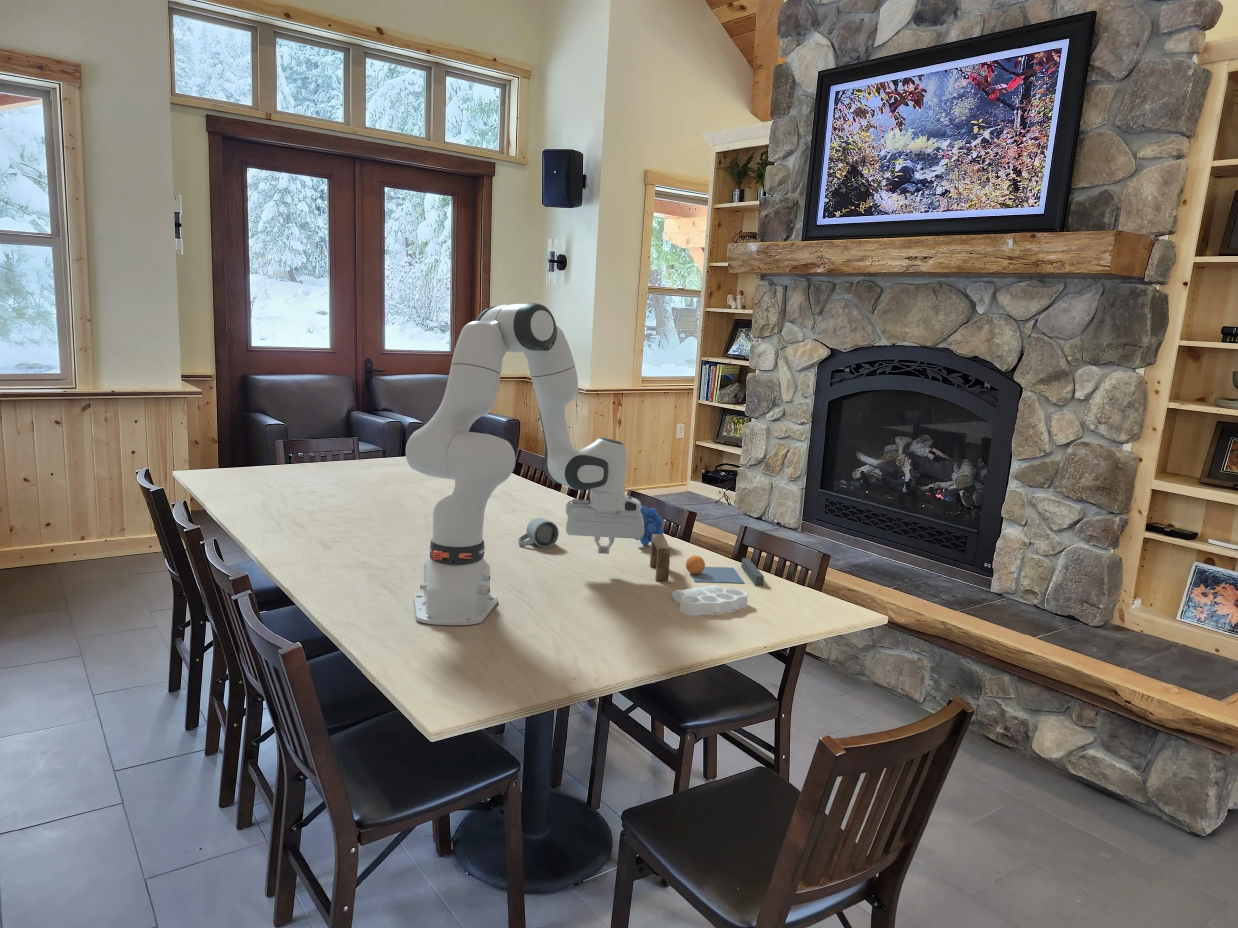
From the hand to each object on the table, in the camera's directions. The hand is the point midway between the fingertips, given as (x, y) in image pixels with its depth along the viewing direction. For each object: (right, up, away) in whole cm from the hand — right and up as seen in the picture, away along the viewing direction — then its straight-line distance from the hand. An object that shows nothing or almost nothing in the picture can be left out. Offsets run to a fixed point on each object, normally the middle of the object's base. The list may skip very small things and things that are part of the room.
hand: (603, 553), depth 217 cm
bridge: (+15, -6, +3) cm, 16 cm away
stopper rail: (+39, -7, +6) cm, 40 cm away
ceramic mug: (-19, 0, +23) cm, 30 cm away
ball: (+24, -4, +4) cm, 25 cm away
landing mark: (+29, -6, +5) cm, 30 cm away
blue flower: (+12, -1, +29) cm, 31 cm away
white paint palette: (+25, -11, -19) cm, 34 cm away
